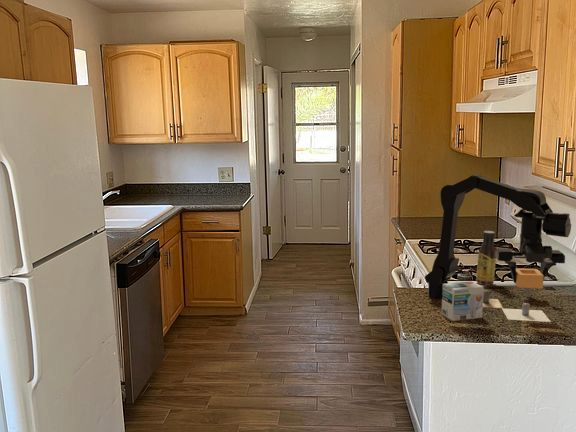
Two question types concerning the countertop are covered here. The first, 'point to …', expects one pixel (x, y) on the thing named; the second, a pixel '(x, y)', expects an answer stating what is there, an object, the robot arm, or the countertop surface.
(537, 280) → the collar
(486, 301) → the stand
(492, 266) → the sauce bottle
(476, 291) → the light bulb box
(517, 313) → the hub board
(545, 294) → the countertop surface
